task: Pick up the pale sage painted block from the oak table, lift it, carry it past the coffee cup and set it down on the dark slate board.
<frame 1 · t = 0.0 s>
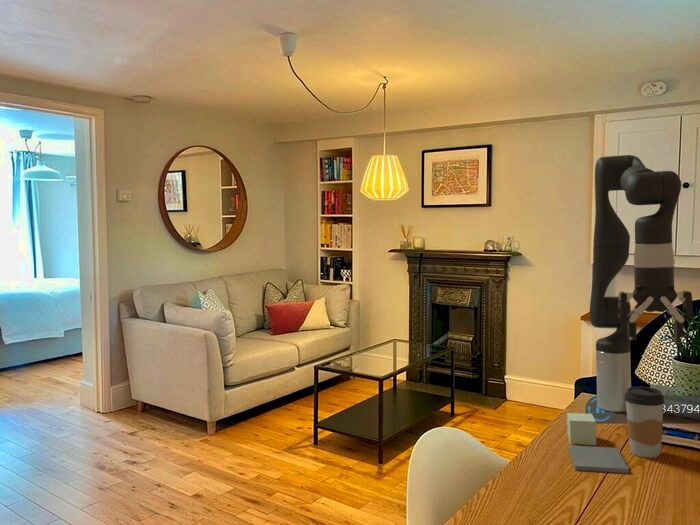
hand: (655, 339, 119), 29 cm above the table, fingers open, 8 cm apart
coffee cup: (645, 453, 131), on the table
slate board: (597, 460, 127), on the table
sage block: (581, 440, 140), on the table
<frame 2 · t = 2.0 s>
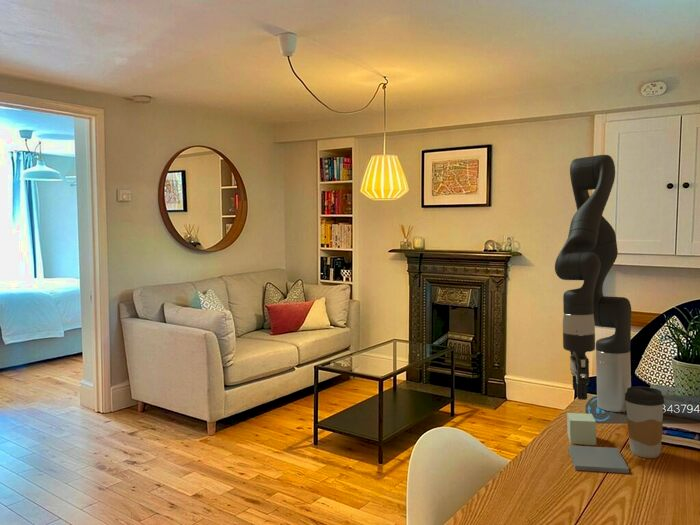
hand: (579, 394, 140), 12 cm above the table, fingers open, 8 cm apart
nothing on the table moved.
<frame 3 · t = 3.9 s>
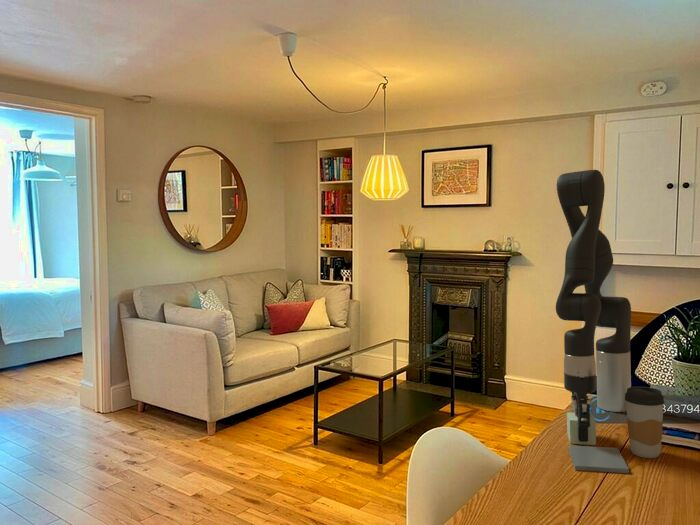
hand: (581, 436, 140), 1 cm above the table, fingers closed on sage block, 6 cm apart
sage block: (581, 439, 140), on the table, touching gripper
everything else where it was.
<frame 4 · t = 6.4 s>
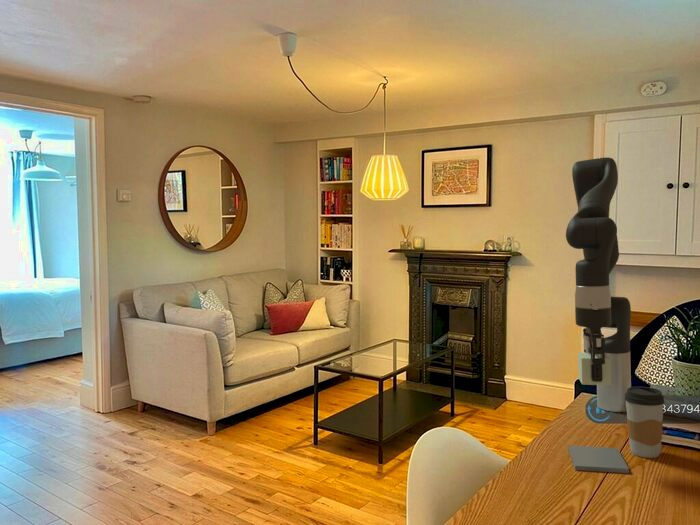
hand: (594, 377, 127), 20 cm above the table, fingers closed on sage block, 6 cm apart
sage block: (594, 381, 127), point 19 cm above the table, touching gripper
everything else where it was.
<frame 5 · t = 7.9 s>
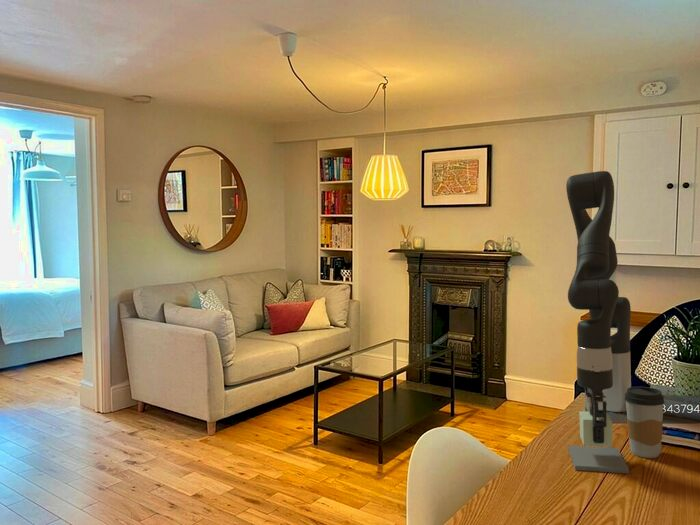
hand: (596, 437, 127), 6 cm above the table, fingers closed on sage block, 6 cm apart
sage block: (595, 441, 127), point 5 cm above the table, touching gripper
everything else where it was.
when the fingers open (4 cm above the table, at t = 9.1 s): sage block drops 2 cm, resting on slate board.
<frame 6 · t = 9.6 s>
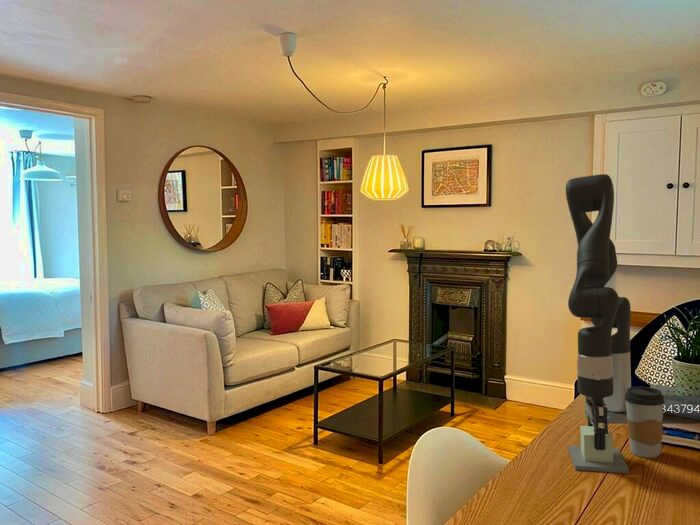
hand: (596, 442, 127), 4 cm above the table, fingers open, 8 cm apart
sage block: (596, 456, 128), point 1 cm above the table, touching slate board
everything else where it was.
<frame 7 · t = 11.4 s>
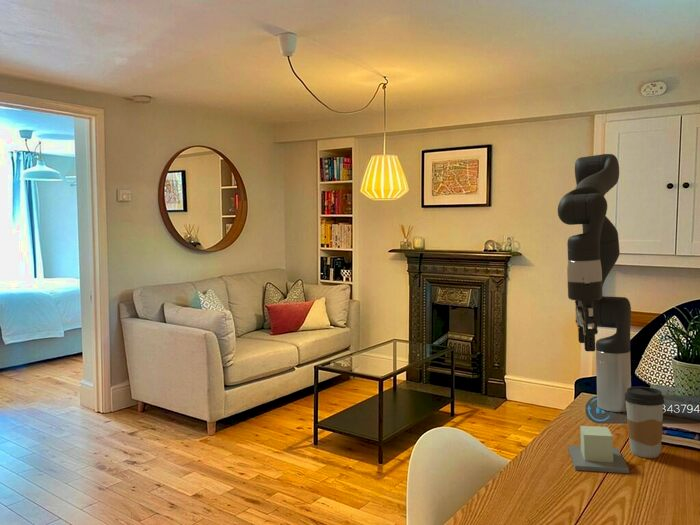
hand: (586, 346, 131), 26 cm above the table, fingers open, 8 cm apart
nothing on the table moved.
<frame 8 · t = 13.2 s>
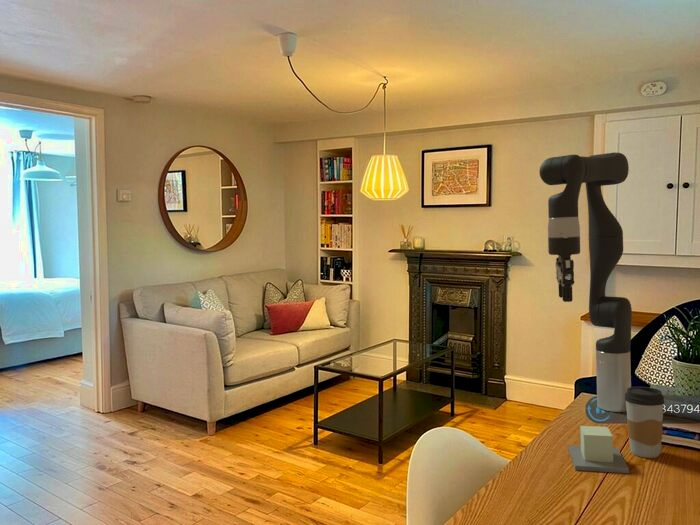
hand: (565, 299, 140), 36 cm above the table, fingers open, 8 cm apart
nothing on the table moved.
at the end: sage block inside the target area on the slate board (0.1 cm from its centre), point 1.0 cm above the slate board's base; sage block tilted 0°; the gripper is holding nothing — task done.
